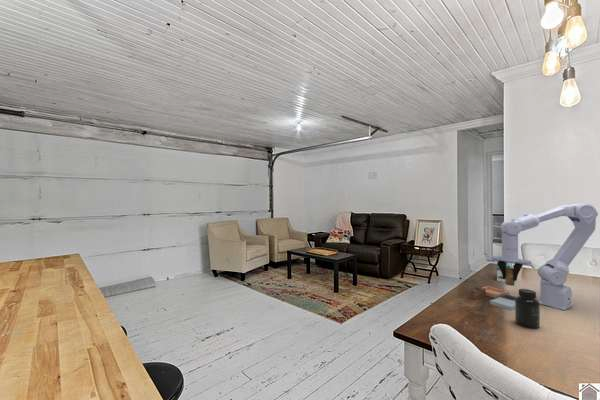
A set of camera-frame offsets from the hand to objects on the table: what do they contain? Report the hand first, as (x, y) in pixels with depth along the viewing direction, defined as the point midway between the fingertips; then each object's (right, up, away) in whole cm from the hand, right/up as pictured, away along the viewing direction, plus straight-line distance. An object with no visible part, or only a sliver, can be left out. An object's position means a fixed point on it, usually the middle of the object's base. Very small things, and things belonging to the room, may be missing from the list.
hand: (509, 279), depth 124 cm
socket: (0, -9, 0) cm, 9 cm away
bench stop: (-11, -9, +4) cm, 15 cm away
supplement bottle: (-11, -10, -23) cm, 27 cm away
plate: (-6, -10, -6) cm, 13 cm away
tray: (-2, -9, +8) cm, 12 cm away
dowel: (0, -2, 0) cm, 2 cm away
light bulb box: (+20, -9, +30) cm, 37 cm away
